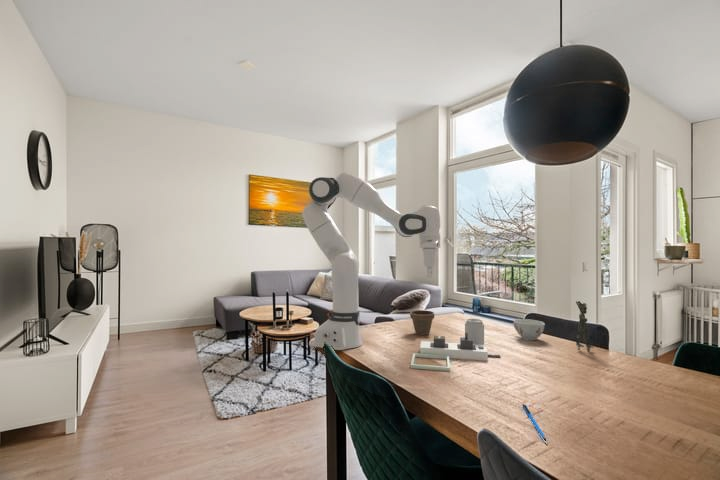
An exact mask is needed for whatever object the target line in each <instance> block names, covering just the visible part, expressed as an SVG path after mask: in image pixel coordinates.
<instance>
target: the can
mask: <svg viewBox="0 0 720 480" xmlns="http://www.w3.org/2000/svg"><path fill="white" fill-rule="evenodd" d="M465 332H467V333H468V338H472V340H473V344H476V345H485V324H484V323H483V320H482V319H479V318H467V319H466V321H465V322H464V333H465Z"/></svg>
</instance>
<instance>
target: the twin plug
mask: <svg viewBox="0 0 720 480" xmlns="http://www.w3.org/2000/svg"><path fill="white" fill-rule="evenodd" d="M459 340H460V341H459V343H460V349H464V350H473V340H472V338H468V333H467V332H465V331H464V337H459Z"/></svg>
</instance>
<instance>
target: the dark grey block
mask: <svg viewBox="0 0 720 480" xmlns="http://www.w3.org/2000/svg"><path fill="white" fill-rule="evenodd" d="M433 342H434V348H445V343H446V337H445V335H444V336H441V335H433Z"/></svg>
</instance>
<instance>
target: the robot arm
mask: <svg viewBox="0 0 720 480" xmlns="http://www.w3.org/2000/svg"><path fill="white" fill-rule="evenodd" d="M308 193H309V196H310V199H311V201H310V203H309V204H307V205H306V206H304V208H303V210H302V214H301V215H302V218H303V221H304V223H305V225H306V227H307V230H308V231H309V233H310V234H311V236H312V238H313V240H314V241H315V243H316V244H317V246H318V248H319V249H320V251H321V252H322V253H323V255H324V256H325V257H326V259H327V260H328V261H329V263H330V264H331V266H330V268H331V285H332V287H331V288H332V308H331V310H330V311H329V312H328V313H327V317H328V319H327V320H326V321H324V322H323V323H322V324H321V325H320V326H318V327H317V328H316V331H315V333H314V337H312V338H311V339H310V340H309V343H308V345H309V347H314V348H321V349H324V348H323V346H324V342H327V343H329V344H331V345H332V346H333V348H334V349H333V350H335V351H343V350H348V349H353V348H354V349H355V348H359V347H361V346H362V345H363V342H362V338H361V333H360V332H361V330H360V321H361V313H360V310H359V303H360V302H359V296H360V295H359V269H360V262H359V259H358V257H357V255H356V254H355V252H354V251H353V249H352V248H351V246H350V245H349V243H348V242H347V240H346V238H345V237H344V235H342V233H341V231H340V229H339V228H338V226H337V224H336V223H335V221H334V219H333V218H332V217H331V215H330V213H329V211H328V210H329V208H330V207H331V206H332V205H333V204H334V203H335V201H336V199H337V198H342V199H344V200H346V201H348V202H349V203H351V204H352V205H354V206H355V207H358V208H360V209H362V210H363V211H367V212H370V213H372V214H374V215H376V216H378V217H380V218H381V219H383V220H384V221H385V222H388V223H389V224H390V225H391V226H393V228H394V229H395V231H396V232H397V234H398V235H400V236H401V237H402V238H403V237H404V238H411V237H413V236H415V235H418V237H419V238H418V239H419V241H418V242H419V245H418V246H419V248H421V250H422V254H423V263H424V267H426V274H427V275H426V276H427V278H431V277H433V267H434V265H435V259H436V252H438V248H441V233H440V229H441V216H440V215H441V214H440V210H439V209H438V208H437V207H436V206H432V205H422V206H420V207H419V208H417V209H415V210H413V211H410V212H408V213H404V214H403V213H400V212H399V211H398V210H396V209H394V208H393V207H391V206H390V205H388V204H387V203H386V202H384V200H383V199H382V198H381V196H380V194H379V191H377V189H376V188H374V187H373V185H372V184H370V183H369V182H367V181H366V180H365V179H362V178H360V177H359V176H357V175H354V174H352V173H349V172H347V171H343V172H341V173H339V174H338V175H337V176H336V178H335V177H324V176H320V177H317V178H315V179H313V180H312V181H311V182H310V184H309V187H308Z"/></svg>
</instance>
